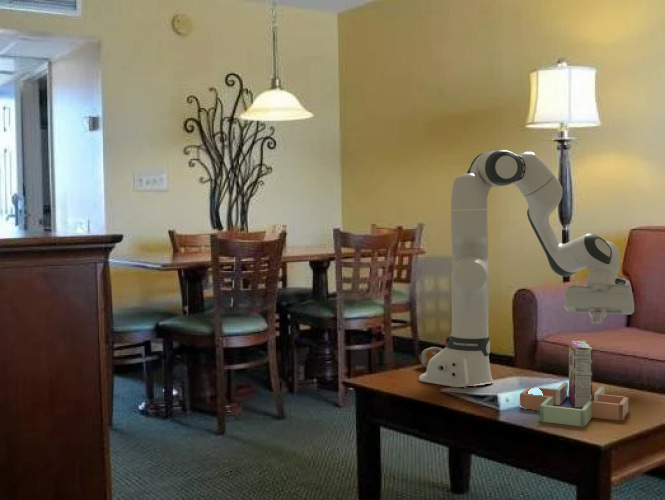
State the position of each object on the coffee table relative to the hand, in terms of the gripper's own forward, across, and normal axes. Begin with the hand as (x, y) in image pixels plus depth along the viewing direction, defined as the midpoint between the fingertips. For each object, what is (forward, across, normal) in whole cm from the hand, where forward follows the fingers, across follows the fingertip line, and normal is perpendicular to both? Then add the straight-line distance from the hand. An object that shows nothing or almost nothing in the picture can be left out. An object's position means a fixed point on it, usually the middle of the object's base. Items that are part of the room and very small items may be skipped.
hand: (596, 322), depth 237 cm
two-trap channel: (+36, 0, -9) cm, 37 cm away
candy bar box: (+30, 0, -3) cm, 31 cm away
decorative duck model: (+11, -51, +15) cm, 54 cm away
